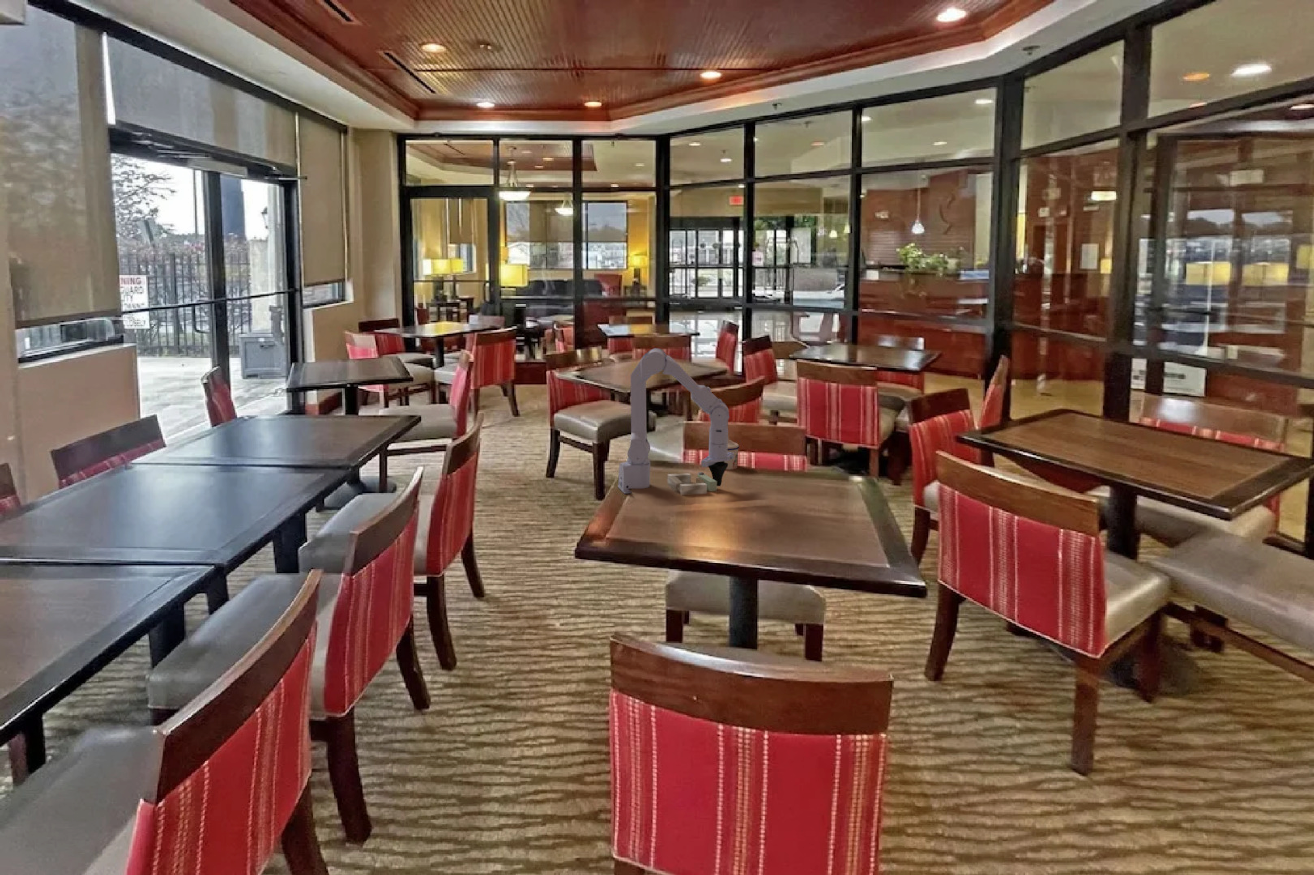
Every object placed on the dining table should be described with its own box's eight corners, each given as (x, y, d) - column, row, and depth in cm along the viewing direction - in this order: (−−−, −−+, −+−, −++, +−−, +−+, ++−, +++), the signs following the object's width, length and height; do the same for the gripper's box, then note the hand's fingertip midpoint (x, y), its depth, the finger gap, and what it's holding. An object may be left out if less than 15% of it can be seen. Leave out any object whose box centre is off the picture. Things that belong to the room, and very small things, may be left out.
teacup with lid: (738, 474, 302) (740, 440, 299) (711, 473, 302) (713, 439, 299) (736, 465, 313) (738, 432, 311) (710, 464, 313) (711, 431, 311)
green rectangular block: (709, 491, 275) (709, 480, 274) (695, 482, 284) (696, 472, 283) (716, 490, 276) (717, 480, 275) (702, 482, 285) (703, 471, 284)
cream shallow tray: (678, 499, 271) (679, 486, 270) (664, 487, 284) (664, 474, 283) (722, 497, 275) (722, 483, 274) (706, 484, 288) (706, 472, 287)
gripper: (714, 448, 267) (713, 492, 270) (742, 440, 278) (740, 483, 281) (696, 445, 271) (694, 488, 275) (724, 437, 282) (722, 478, 285)
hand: (716, 485), depth 278 cm, fingers closed, pressing on green rectangular block
